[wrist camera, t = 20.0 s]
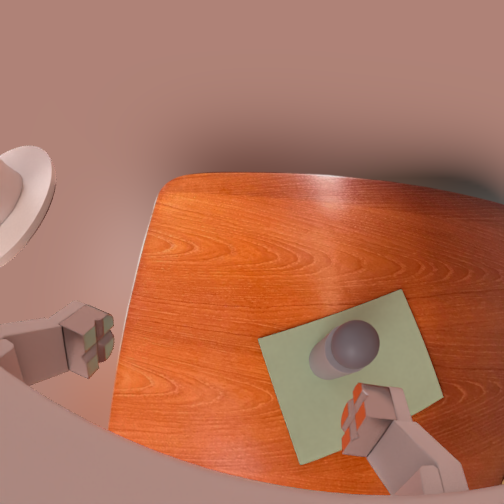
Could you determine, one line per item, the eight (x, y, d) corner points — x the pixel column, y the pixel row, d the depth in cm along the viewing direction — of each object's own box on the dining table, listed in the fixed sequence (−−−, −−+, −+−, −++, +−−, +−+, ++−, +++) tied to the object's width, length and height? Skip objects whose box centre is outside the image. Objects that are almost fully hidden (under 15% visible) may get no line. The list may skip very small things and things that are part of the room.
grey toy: (316, 385, 34) (347, 377, 23) (303, 347, 36) (327, 322, 25) (353, 371, 34) (397, 355, 24) (340, 334, 37) (377, 304, 26)
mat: (299, 464, 30) (300, 465, 29) (257, 339, 37) (257, 338, 36) (441, 397, 33) (443, 396, 32) (400, 290, 40) (401, 288, 39)
